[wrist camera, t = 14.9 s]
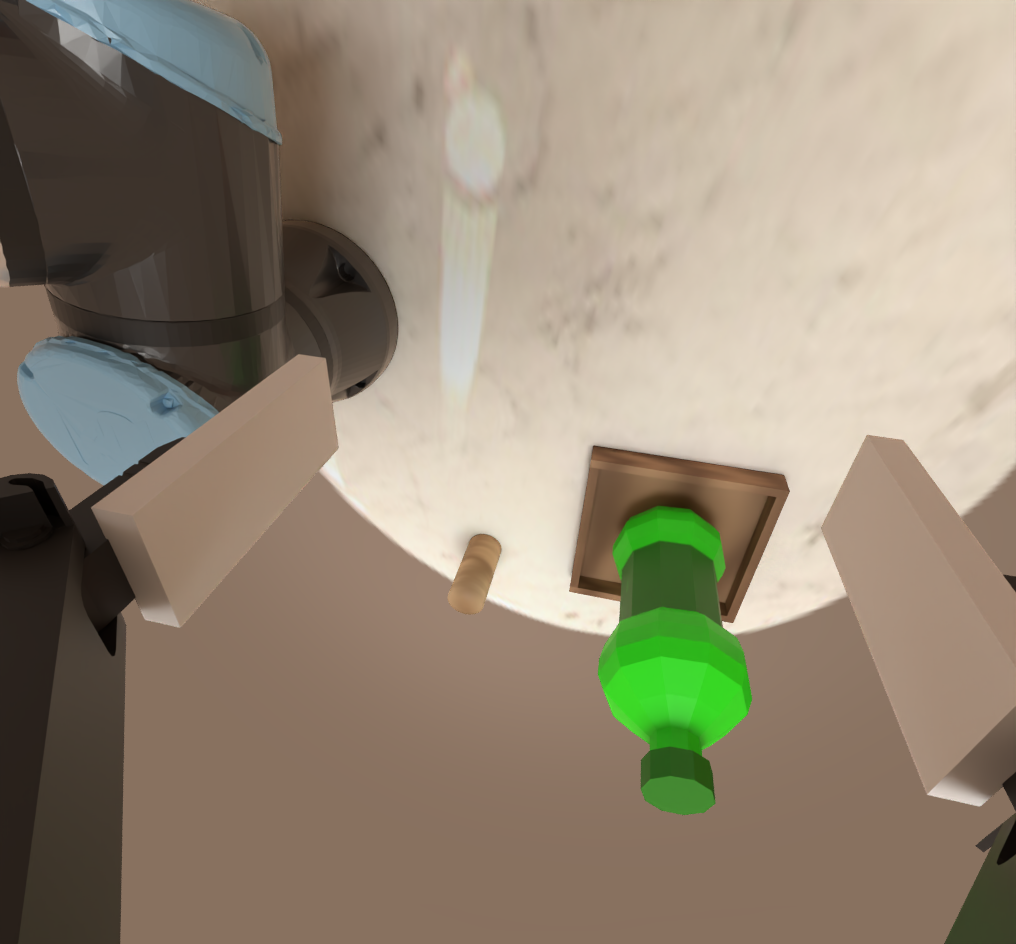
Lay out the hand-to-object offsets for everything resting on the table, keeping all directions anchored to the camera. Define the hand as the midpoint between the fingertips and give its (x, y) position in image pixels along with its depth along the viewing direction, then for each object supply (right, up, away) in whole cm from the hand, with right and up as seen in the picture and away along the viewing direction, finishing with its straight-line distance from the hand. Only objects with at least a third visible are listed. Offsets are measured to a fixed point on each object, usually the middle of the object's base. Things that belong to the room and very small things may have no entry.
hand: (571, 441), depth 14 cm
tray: (+14, -7, +40) cm, 43 cm away
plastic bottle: (+14, -6, +39) cm, 42 cm away
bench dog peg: (-4, -9, +46) cm, 47 cm away
